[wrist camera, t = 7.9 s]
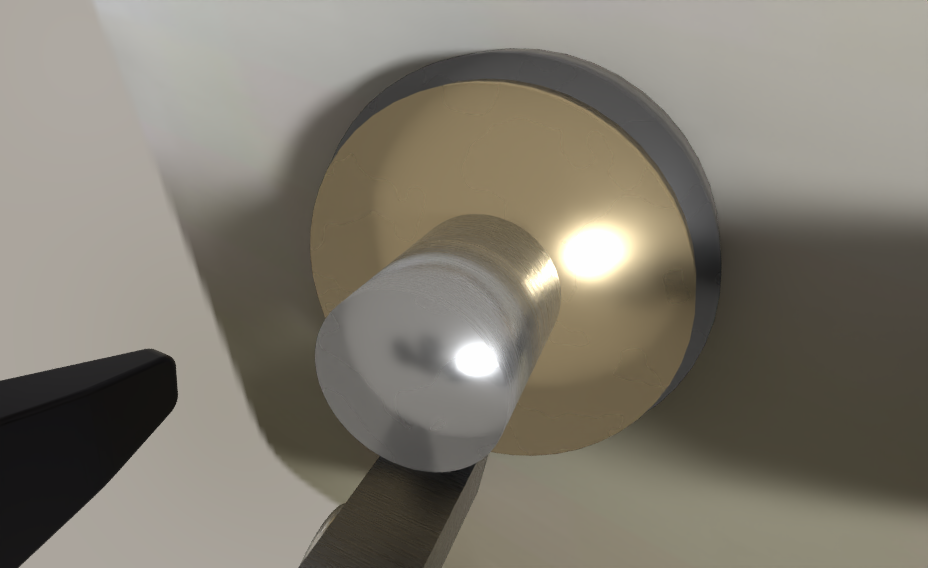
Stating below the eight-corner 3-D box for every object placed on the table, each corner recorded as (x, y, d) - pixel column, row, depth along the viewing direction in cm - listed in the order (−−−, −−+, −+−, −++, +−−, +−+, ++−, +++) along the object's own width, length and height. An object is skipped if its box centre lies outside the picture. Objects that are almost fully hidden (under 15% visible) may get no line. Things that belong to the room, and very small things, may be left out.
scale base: (797, 111, 15) (890, 215, 7) (598, 545, 23) (546, 807, 16) (370, 5, 18) (120, 1, 10) (327, 426, 26) (170, 599, 18)
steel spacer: (580, 243, 15) (531, 336, 11) (538, 379, 17) (482, 502, 13) (424, 193, 16) (322, 260, 12) (402, 327, 18) (308, 425, 14)
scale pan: (772, 146, 13) (776, 155, 13) (618, 486, 19) (614, 509, 18) (344, 33, 16) (324, 35, 15) (316, 361, 21) (300, 376, 20)
